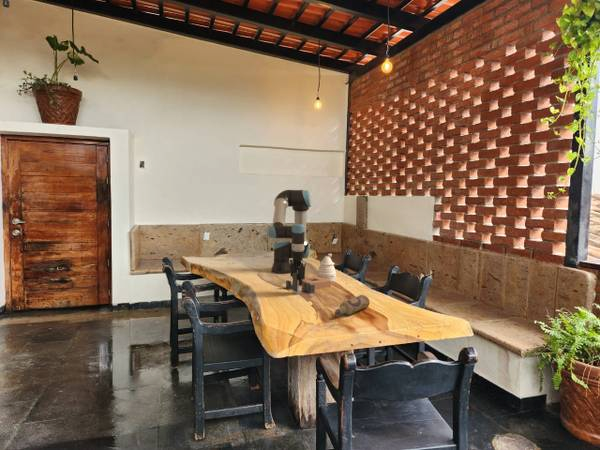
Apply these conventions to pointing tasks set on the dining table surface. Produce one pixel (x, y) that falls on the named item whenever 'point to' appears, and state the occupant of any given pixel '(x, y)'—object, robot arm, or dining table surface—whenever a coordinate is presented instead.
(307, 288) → the clip
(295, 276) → the plug
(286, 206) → the robot arm
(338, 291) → the dining table surface
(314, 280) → the end holder
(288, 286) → the clip
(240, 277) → the dining table surface
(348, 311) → the decorative bottle
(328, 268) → the honey pot
